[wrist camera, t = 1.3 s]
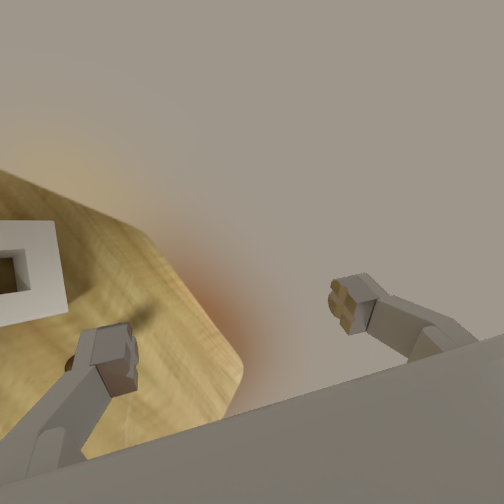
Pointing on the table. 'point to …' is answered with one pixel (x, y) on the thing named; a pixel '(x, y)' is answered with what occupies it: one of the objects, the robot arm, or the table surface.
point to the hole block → (32, 271)
